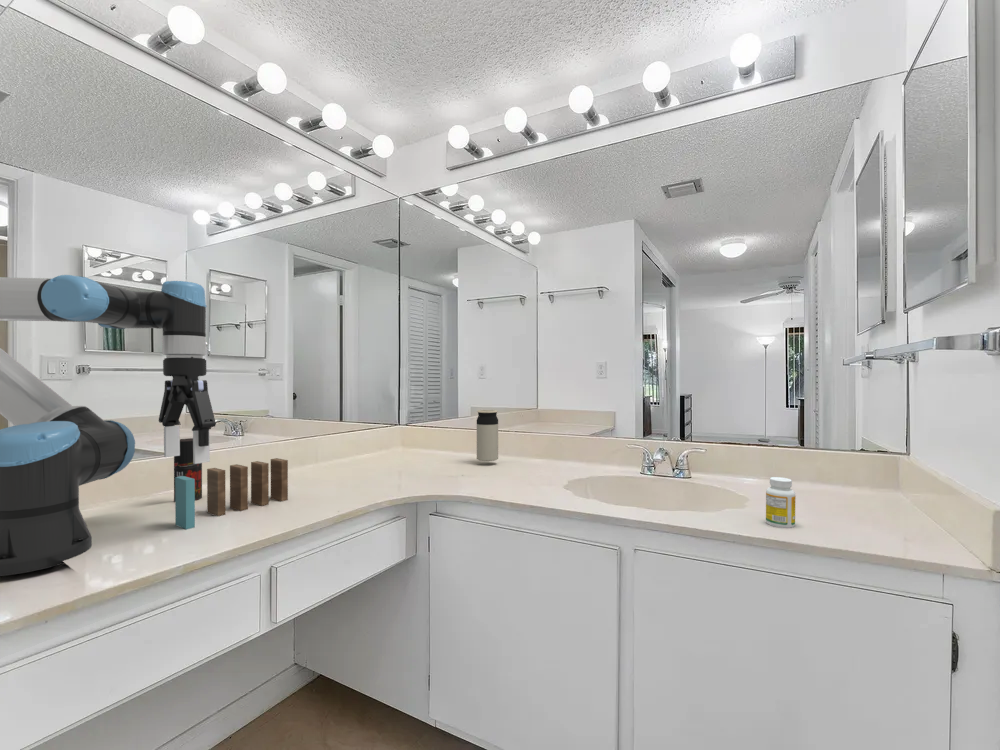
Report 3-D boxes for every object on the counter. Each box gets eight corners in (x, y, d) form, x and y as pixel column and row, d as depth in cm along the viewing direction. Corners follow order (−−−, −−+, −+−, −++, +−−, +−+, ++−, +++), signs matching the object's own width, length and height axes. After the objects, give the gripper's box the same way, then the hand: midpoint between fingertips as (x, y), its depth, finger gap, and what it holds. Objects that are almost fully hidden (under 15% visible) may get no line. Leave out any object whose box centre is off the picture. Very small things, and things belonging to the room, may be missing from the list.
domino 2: (218, 516, 106) (217, 471, 106) (207, 512, 109) (207, 468, 109) (225, 514, 107) (225, 470, 107) (214, 511, 110) (214, 467, 110)
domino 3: (240, 511, 110) (240, 467, 110) (230, 507, 113) (229, 465, 113) (247, 509, 111) (247, 466, 111) (236, 506, 114) (236, 464, 114)
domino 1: (186, 529, 97) (186, 480, 97) (175, 525, 100) (175, 477, 100) (194, 527, 98) (194, 478, 98) (183, 523, 101) (183, 476, 101)
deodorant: (169, 503, 117) (169, 441, 117) (179, 497, 122) (179, 438, 122) (197, 501, 118) (197, 441, 118) (205, 495, 124) (205, 437, 124)
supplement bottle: (777, 529, 97) (777, 482, 97) (760, 521, 102) (760, 476, 102) (801, 528, 97) (801, 481, 97) (783, 520, 103) (783, 475, 103)
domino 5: (281, 501, 118) (281, 461, 118) (270, 498, 121) (270, 459, 121) (287, 499, 119) (287, 460, 119) (276, 497, 122) (276, 458, 122)
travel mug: (498, 461, 171) (497, 411, 171) (475, 461, 172) (475, 411, 172) (498, 457, 179) (498, 409, 179) (477, 457, 180) (477, 409, 180)
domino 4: (262, 506, 114) (262, 464, 114) (251, 502, 117) (251, 462, 117) (268, 504, 115) (268, 463, 115) (257, 501, 118) (257, 461, 118)
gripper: (234, 356, 95) (235, 462, 95) (178, 359, 109) (179, 451, 109) (192, 355, 89) (194, 468, 89) (139, 358, 103) (141, 456, 103)
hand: (186, 459), depth 99 cm, fingers open, 13 cm apart
